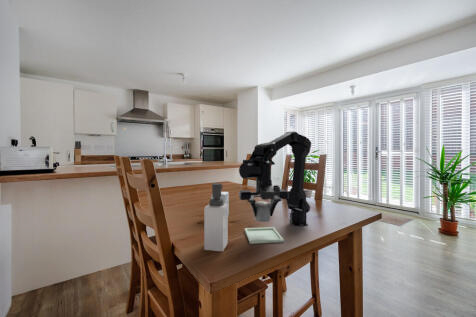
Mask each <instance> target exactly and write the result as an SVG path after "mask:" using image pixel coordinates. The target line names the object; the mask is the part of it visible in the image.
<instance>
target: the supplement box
mask: <svg viewBox="0 0 476 317" xmlns="http://www.w3.org/2000/svg"><path fill="white" fill-rule="evenodd" d="M229 193H230V192H229V191H221V197H220V199H223V203H225V204H228V215H229V210H230V209H229V208H230V207H229V205H230V204H229V201H230V200H229V199H230V198H229V196H230V194H229ZM210 197H211V198H210V199H213V198H214V197H212V193H211V195H210Z"/></svg>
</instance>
